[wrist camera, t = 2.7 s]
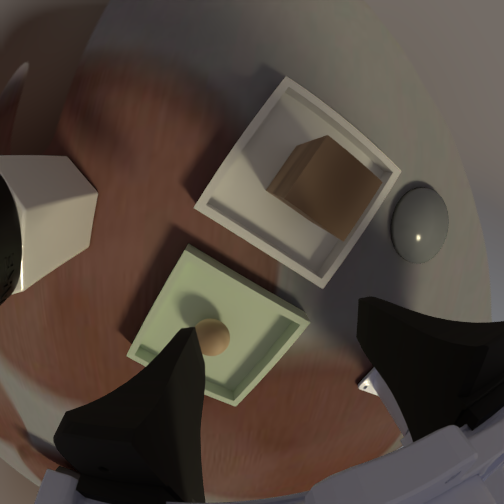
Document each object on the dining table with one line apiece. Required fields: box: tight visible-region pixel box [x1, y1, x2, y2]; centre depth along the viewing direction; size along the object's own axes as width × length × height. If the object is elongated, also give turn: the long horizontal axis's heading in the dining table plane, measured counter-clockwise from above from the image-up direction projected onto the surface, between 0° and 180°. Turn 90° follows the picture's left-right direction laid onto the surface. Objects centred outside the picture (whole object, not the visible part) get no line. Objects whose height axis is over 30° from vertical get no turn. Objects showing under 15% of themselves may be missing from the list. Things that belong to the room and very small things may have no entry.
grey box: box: [194, 76, 401, 289], centre depth 19 cm, size 11×11×2 cm
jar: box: [0, 155, 98, 305], centre depth 13 cm, size 9×8×12 cm
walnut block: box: [266, 135, 383, 242], centre depth 16 cm, size 4×4×6 cm
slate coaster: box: [391, 188, 449, 264], centre depth 22 cm, size 7×7×1 cm
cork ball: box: [195, 318, 230, 356], centre depth 21 cm, size 3×3×3 cm
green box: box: [127, 243, 311, 406], centre depth 22 cm, size 11×11×2 cm
